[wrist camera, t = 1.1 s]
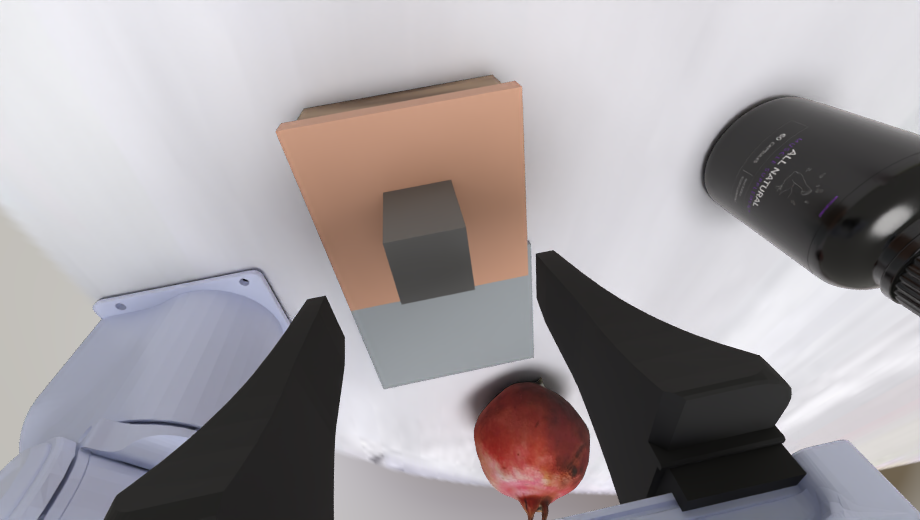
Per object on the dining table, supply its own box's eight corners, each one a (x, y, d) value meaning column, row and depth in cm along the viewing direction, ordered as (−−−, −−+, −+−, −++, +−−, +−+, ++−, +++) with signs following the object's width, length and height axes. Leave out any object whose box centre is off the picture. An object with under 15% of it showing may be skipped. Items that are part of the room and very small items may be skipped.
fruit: (577, 357, 33) (638, 482, 25) (556, 422, 38) (601, 541, 30) (469, 368, 31) (497, 503, 23) (463, 434, 37) (484, 561, 29)
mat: (383, 384, 31) (383, 389, 31) (339, 278, 24) (338, 282, 24) (532, 353, 31) (533, 357, 31) (528, 240, 25) (530, 244, 24)
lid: (352, 298, 21) (344, 373, 17) (281, 123, 16) (245, 174, 12) (523, 264, 22) (554, 329, 18) (515, 81, 16) (557, 116, 12)
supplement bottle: (696, 127, 22) (936, 247, 12) (821, 71, 21) (1182, 154, 12) (700, 221, 26) (883, 366, 16) (804, 177, 25) (1061, 303, 16)
